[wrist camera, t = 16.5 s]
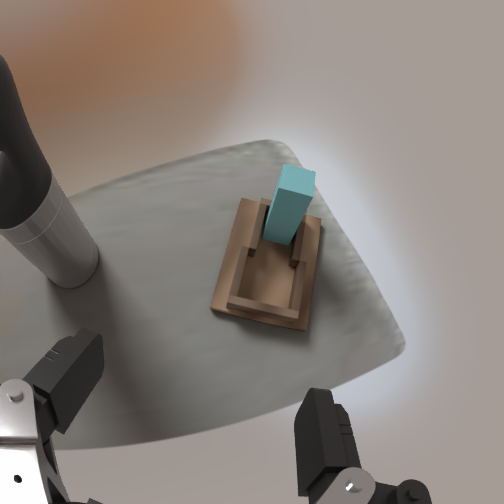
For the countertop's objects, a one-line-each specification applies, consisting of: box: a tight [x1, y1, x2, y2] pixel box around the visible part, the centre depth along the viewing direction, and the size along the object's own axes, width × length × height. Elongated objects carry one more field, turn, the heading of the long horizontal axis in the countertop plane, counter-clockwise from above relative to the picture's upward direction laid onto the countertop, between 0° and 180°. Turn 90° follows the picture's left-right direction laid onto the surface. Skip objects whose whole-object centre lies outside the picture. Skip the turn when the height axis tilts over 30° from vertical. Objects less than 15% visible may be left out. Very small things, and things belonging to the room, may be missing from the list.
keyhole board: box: [210, 198, 321, 331], centre depth 41 cm, size 13×18×4 cm
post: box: [262, 163, 316, 246], centre depth 39 cm, size 4×4×12 cm
